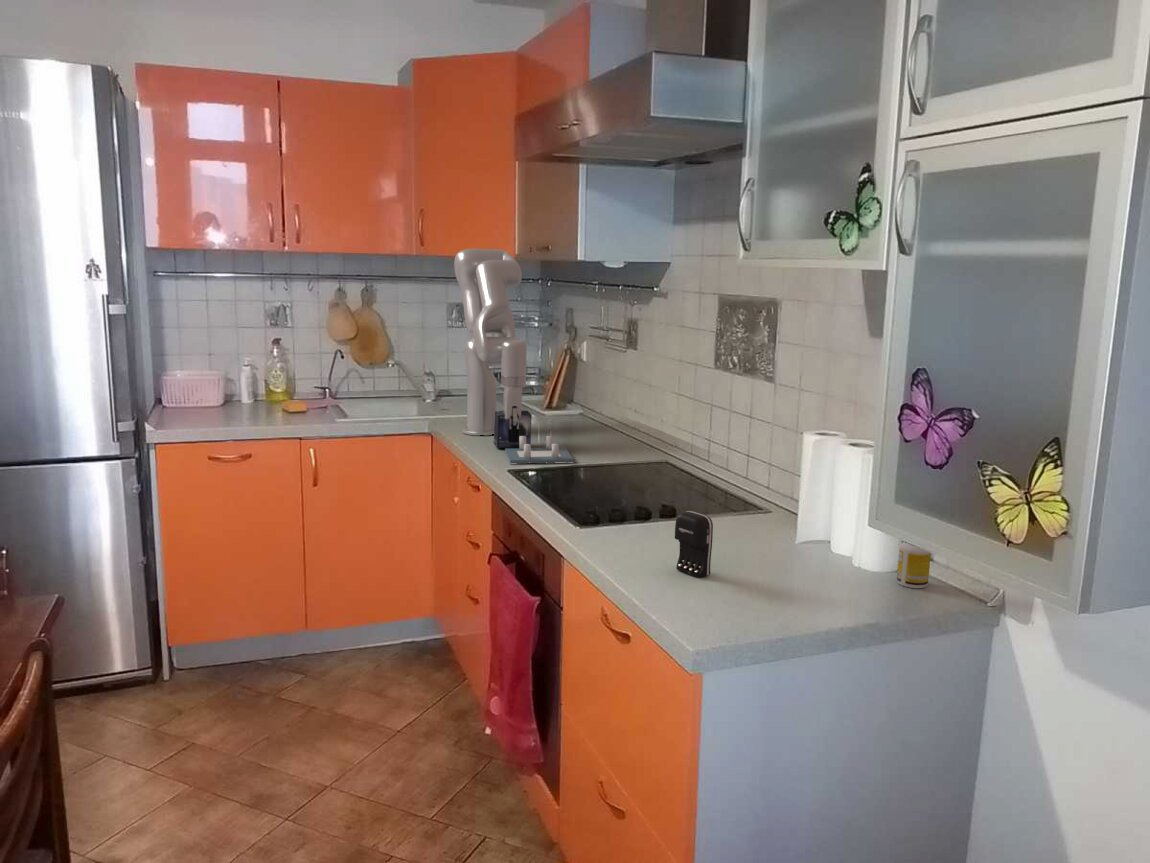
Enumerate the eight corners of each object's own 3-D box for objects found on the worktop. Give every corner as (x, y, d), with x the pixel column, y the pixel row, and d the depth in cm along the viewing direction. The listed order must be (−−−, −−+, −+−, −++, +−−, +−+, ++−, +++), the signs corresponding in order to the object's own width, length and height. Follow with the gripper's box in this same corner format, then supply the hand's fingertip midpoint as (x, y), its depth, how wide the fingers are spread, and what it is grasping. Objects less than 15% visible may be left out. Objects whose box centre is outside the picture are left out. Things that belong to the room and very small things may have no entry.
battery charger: (670, 570, 171) (672, 511, 169) (684, 566, 173) (686, 508, 171) (697, 580, 166) (700, 520, 163) (711, 576, 168) (714, 516, 166)
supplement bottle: (934, 586, 165) (939, 534, 163) (914, 591, 162) (919, 538, 161) (910, 577, 170) (914, 526, 168) (889, 581, 167) (894, 530, 165)
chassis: (505, 452, 271) (505, 435, 270) (564, 451, 274) (565, 434, 273) (510, 464, 255) (510, 446, 254) (573, 463, 258) (573, 445, 257)
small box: (497, 448, 273) (497, 414, 271) (493, 443, 280) (493, 410, 277) (531, 447, 276) (532, 414, 274) (526, 443, 282) (527, 409, 280)
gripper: (498, 376, 281) (497, 433, 285) (503, 386, 265) (502, 445, 268) (522, 376, 283) (521, 432, 286) (529, 386, 266) (527, 445, 270)
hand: (512, 438), depth 277 cm, fingers closed on small box, 6 cm apart
